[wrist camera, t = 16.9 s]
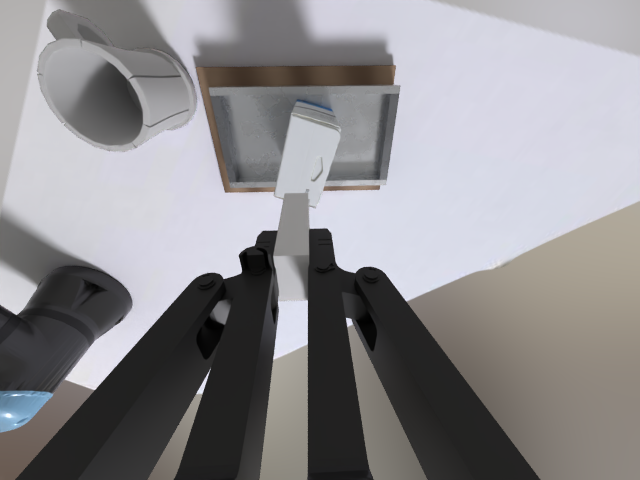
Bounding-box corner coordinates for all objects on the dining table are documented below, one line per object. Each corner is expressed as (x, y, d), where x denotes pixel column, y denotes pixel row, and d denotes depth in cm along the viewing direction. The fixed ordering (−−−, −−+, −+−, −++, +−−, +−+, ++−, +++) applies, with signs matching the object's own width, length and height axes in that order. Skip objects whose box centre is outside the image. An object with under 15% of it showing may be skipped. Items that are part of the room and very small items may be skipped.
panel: (226, 190, 40) (225, 192, 39) (198, 67, 31) (195, 67, 30) (378, 187, 40) (379, 189, 40) (393, 65, 31) (395, 65, 31)
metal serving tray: (235, 180, 38) (230, 187, 35) (216, 86, 31) (208, 87, 29) (381, 177, 38) (385, 185, 36) (393, 84, 32) (400, 85, 29)
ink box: (296, 97, 31) (289, 109, 22) (334, 109, 32) (344, 127, 22) (282, 163, 36) (271, 198, 26) (315, 172, 37) (317, 210, 27)
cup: (106, 100, 33) (16, 113, 23) (112, 18, 28) (4, -9, 18) (189, 140, 36) (142, 168, 26) (206, 73, 31) (158, 74, 21)
